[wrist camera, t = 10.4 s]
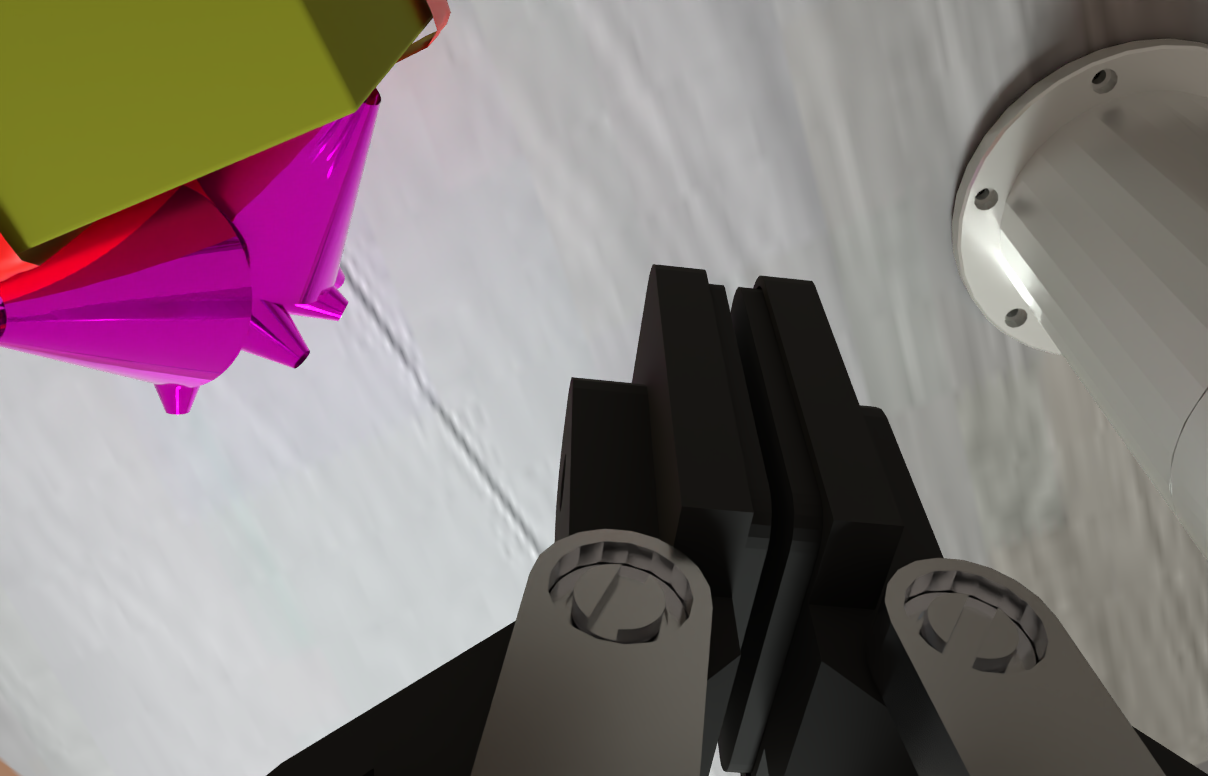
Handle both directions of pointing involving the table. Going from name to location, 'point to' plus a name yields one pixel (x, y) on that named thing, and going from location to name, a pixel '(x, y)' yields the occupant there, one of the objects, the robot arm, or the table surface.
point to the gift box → (184, 175)
